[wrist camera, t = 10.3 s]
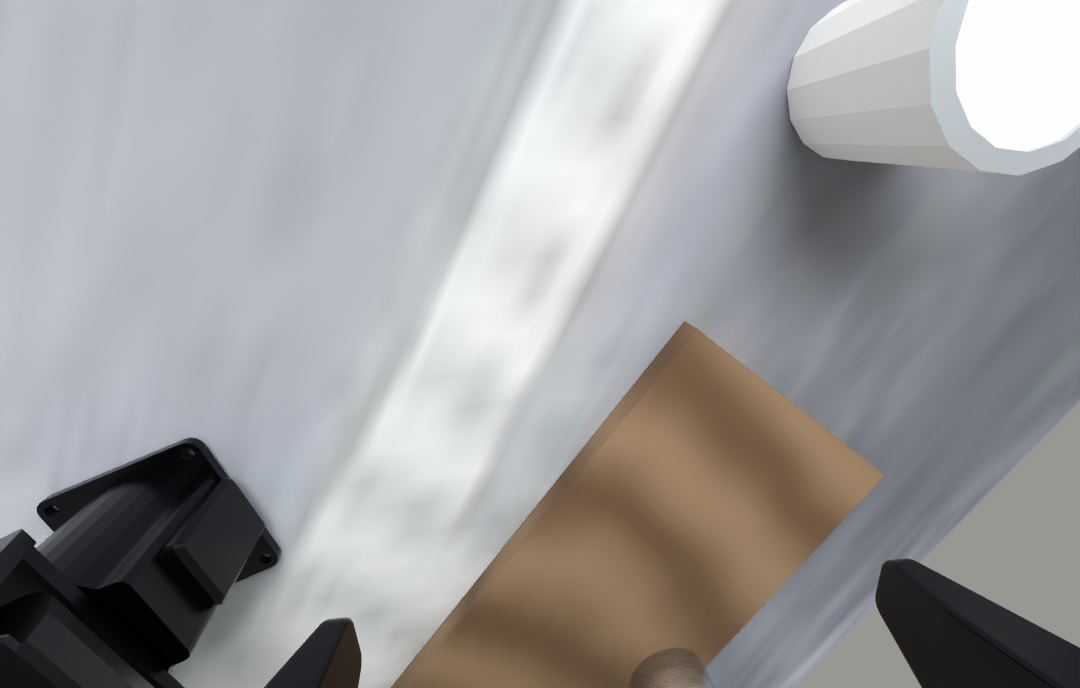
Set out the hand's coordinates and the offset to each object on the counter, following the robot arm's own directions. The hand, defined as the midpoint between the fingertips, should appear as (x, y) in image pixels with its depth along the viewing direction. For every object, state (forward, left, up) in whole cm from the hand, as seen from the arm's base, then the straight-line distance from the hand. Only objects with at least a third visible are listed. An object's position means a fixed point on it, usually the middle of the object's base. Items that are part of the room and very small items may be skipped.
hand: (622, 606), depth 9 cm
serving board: (-4, -16, -13) cm, 21 cm away
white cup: (+16, +5, -14) cm, 21 cm away
